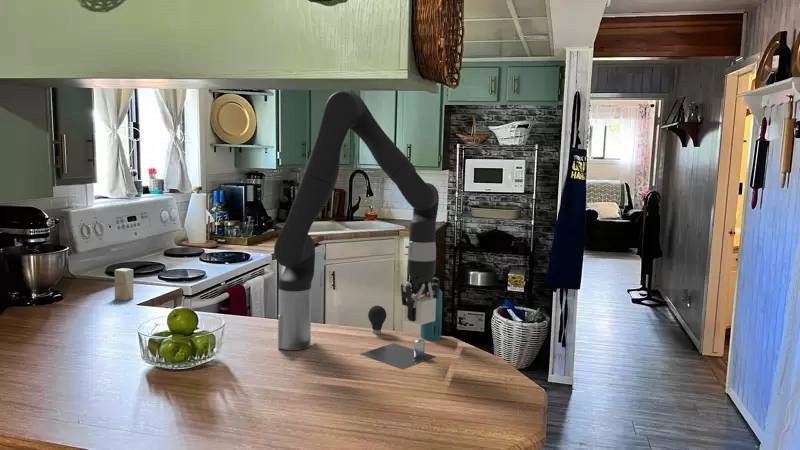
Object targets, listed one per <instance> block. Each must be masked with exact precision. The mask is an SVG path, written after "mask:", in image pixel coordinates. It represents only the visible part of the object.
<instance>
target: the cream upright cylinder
mask: <svg viewBox="0 0 800 450" xmlns="http://www.w3.org/2000/svg"><path fill="white" fill-rule="evenodd" d="M132 299H134V269H132V268H127V267H126V268H125V267H124V268H123V267H122V268H117V269H114V300H118V301H128V300H132Z"/></svg>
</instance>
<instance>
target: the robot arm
mask: <svg viewBox="0 0 800 450" xmlns="http://www.w3.org/2000/svg"><path fill="white" fill-rule="evenodd" d="M349 130H351V131H352V132H353V133H354V134H355V135H357V136H358V137H359V138H360V139H361V141H362V142H363V143H364V144H365V145H366V147H367V148H368V150H369V152H370V154H371V155H372V157H373V159H374V160H375V162H376V164H378V166H379V167H380V168H381V170H382V171H383V172H384V173H385V174H386V175H387V177H388V178H389V179H390V180H391V181H392V182H393V183H394V184H395V185H396V186H397V188H398V191H400V193H401V194H402V196H403V198H404V199H405V200H406V202H407V203H408V204H409V205H410V206H411V207H412V208H413V210H412V211H413V212H412V218H411V220H410V225H409V237H408V239H409V240H408V241H409V242H408V247H407V275H408V276H409V280H408V282H407V283H402V284H401V285H400V292H401V293H400V294H401V304H402V306H404V307H405V306H407V307H408V320H409V321H416V308H415V307H416V305H417V301H418V300H420V297H421V295H422V296H427V297H432V298H436V300H437V299H438V294H439V289H440V286H441V285H440V284H441V279H440V278H439V277H437V278H433V277H435V275H436V263H437V262H436V261H437V245H436V240H437V239H436V236H437V235H436V233H437V232H436V231H437V229H436V227H437V225H436V224H437V217H438V209H439V201H440V199H439V191H438V189H437V188H436V186H435V185H434V184H432V183H429V182H425V180H424V179H423V178H422V177H421V176H420V175H419V174H418V172H417V169H416V167H415V165H414V164H413V163H412V162H411V161H410V160H409V158H408V157H407V156H406V155H405V154H404V153H403V151H401V149H400V147H398V146H397V145H396V144H395V143H394V142H393V140H392V139H391V138H390V137H389V136H388V135H387V133H386V132H385V131H384V130H383V128H382V127H381V126H380V125H379V123H378V122H377V120H376V118H375V117H374V115H373V114H372V112H371V111H370V109H369V108H368V106H367V105H366V103H365V101H364V100H363V98H362V97H361V96H359V94H356V93H353V92H350V91H346V90H345V91H344V90H343V91H342V90H340V91H336V92H334V93H332V94H331V95H330V96H329V98H328V100H327V101H326V103H325V106H324V110H323V113H322V118H321V122H320V127H319V130H318V133H317V137H316V139H315V142H314V145H313V147H312V150H311V152H310V155H309V158H308V161H307V163H306V166H305V168H304V171H303V173H302V175H301V176H302V177H301V179H300V181H299V185H298V187H297V191H296V193H295V195H294V200H292V201H293V202H292V205H291V208H290V210H289V213H288V216H287V218H286V220H285V222H284V224H283V226H282V229H281V231H280V233H279V234H278V236H277V238H276V241H275V243H274V248H273V253H274V258H275V260H276V262H277V263H278V265H281V266H283V267H285V268H284V271H283V273H282V275H281V276H280V277H279V279H278V321H277V322H278V324H277V327H278V328H277V333H278V334H277V349H278V350H285V351H300V350H301V351H302V350H305V349H308V348H310V346H311V339H312V337H311V328H312V324H311V323H312V322H311V321H312V319H311V317H312V281H313V280H314V277H315V264H316V263H315V260H316V247H315V246H316V245H315V242H314V240H313V238H312V236H311V235H310V234H309V232H310V231H311V227H312V226H313V224H314V222H315V220H316V219H317V217H318V216H319V215H320V214H321V212H322V210H323V209H324V208H325V206H326V205H327V204H328V202H329V200H330V199H331V197H332V194H333V191H334V189H335V186H336V184H337V180H338V177H339V172H340V162H341V161H340V160H341V151H342V148H343V143H344V141H345V139H346V136H347V133H348V132H349ZM438 278H439V279H438ZM433 291H435V294H434V295H433ZM415 295H416V296H415ZM406 298H407V301H406ZM412 299H414V301H413V303H412ZM409 321H408V322H409Z"/></svg>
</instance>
